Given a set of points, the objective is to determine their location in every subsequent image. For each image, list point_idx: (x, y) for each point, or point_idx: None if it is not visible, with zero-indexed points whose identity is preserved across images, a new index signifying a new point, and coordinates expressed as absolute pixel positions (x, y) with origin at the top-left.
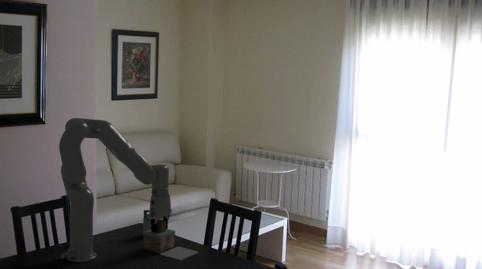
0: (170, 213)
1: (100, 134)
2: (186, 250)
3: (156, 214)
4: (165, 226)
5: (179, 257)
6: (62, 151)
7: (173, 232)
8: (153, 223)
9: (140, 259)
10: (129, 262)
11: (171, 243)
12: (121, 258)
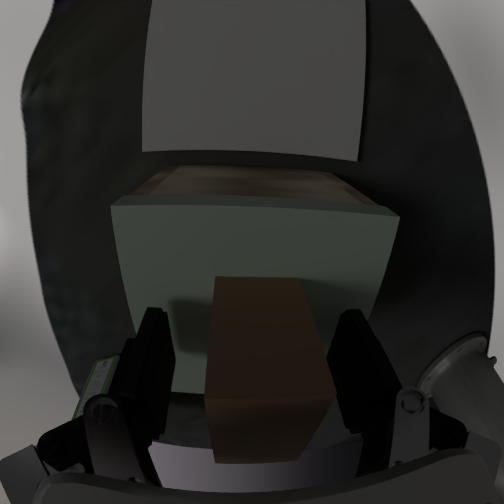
0: (51, 483)
1: None
2: (179, 46)
3: (495, 490)
4: (220, 322)
5: (338, 13)
6: None
7: (149, 199)
8: (415, 402)
9: (445, 212)
10: (478, 230)
11: (200, 173)
12: (449, 286)
